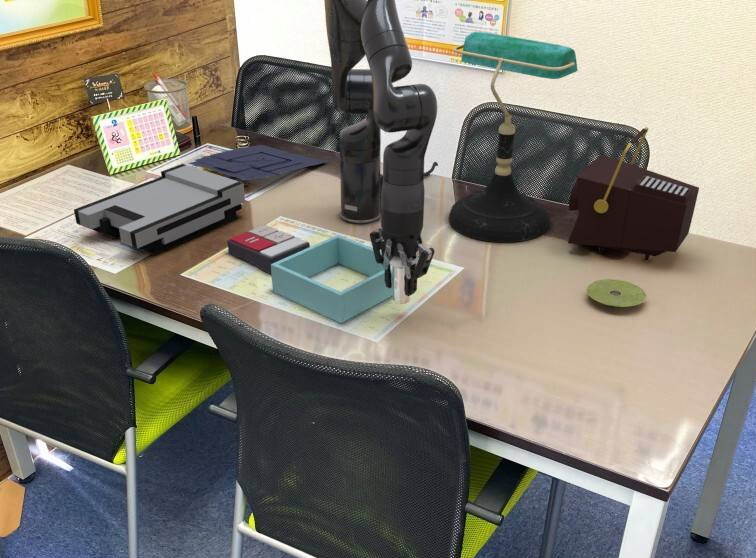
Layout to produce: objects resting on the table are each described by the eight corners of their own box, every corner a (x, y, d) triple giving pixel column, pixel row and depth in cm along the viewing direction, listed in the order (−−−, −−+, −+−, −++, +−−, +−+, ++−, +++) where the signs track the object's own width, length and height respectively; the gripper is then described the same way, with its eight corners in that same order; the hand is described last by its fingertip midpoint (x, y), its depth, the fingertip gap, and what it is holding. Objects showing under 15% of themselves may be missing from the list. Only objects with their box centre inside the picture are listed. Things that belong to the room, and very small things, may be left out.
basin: (338, 260, 184) (337, 234, 181) (406, 288, 174) (407, 261, 170) (272, 291, 173) (270, 264, 170) (341, 323, 162) (340, 295, 159)
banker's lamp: (573, 221, 201) (600, 39, 178) (521, 254, 186) (543, 60, 163) (478, 193, 215) (491, 21, 192) (422, 222, 200) (430, 40, 177)
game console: (79, 238, 194) (72, 204, 189) (186, 195, 215) (182, 163, 210) (139, 264, 184) (133, 228, 179) (246, 216, 204) (243, 183, 199)
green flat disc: (648, 293, 171) (650, 285, 170) (639, 319, 163) (641, 310, 162) (591, 283, 175) (593, 274, 174) (579, 308, 167) (581, 299, 166)
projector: (584, 225, 199) (601, 116, 184) (687, 247, 189) (714, 133, 174) (559, 252, 187) (575, 138, 173) (668, 277, 177) (694, 157, 163)
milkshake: (383, 295, 164) (383, 247, 159) (411, 293, 165) (412, 245, 159) (386, 306, 161) (386, 257, 155) (415, 305, 161) (415, 256, 155)
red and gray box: (265, 222, 192) (310, 239, 183) (267, 240, 194) (311, 258, 185) (225, 237, 186) (270, 255, 176) (228, 256, 188) (272, 274, 179)
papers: (182, 172, 224) (182, 158, 223) (260, 154, 246) (260, 141, 244) (251, 193, 212) (251, 178, 211) (327, 172, 234) (328, 158, 232)
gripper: (447, 207, 150) (442, 295, 160) (386, 187, 158) (385, 272, 168) (420, 220, 145) (416, 310, 155) (358, 198, 153) (358, 285, 163)
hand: (400, 289), depth 161 cm, fingers closed on milkshake, 4 cm apart
